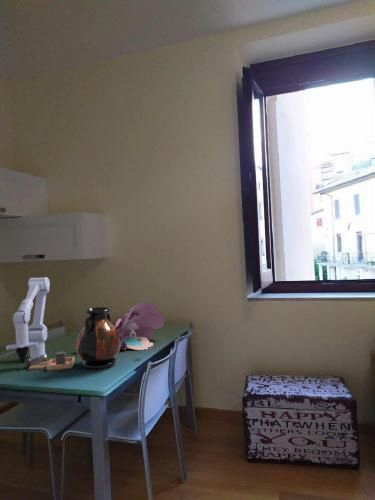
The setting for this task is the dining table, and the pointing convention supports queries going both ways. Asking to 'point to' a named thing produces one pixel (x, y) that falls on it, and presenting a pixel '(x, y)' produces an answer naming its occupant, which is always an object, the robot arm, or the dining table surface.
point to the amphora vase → (98, 340)
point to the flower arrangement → (139, 326)
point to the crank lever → (35, 360)
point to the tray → (53, 366)
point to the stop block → (60, 358)
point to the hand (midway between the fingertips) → (23, 362)
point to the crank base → (39, 365)
